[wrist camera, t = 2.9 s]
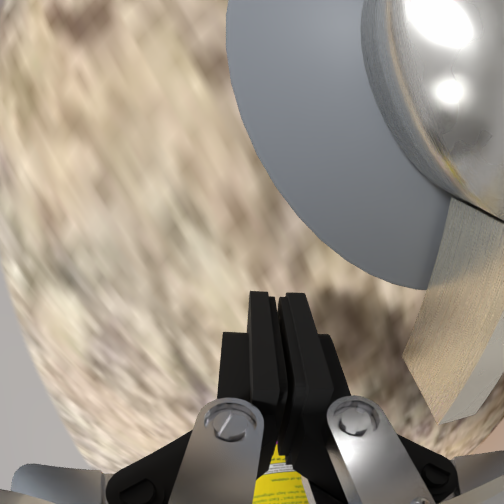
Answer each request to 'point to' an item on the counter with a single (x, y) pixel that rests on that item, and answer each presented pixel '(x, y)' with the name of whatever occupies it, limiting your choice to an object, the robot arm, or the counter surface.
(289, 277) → the counter surface
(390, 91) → the dial
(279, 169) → the base plate
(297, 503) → the supplement bottle
